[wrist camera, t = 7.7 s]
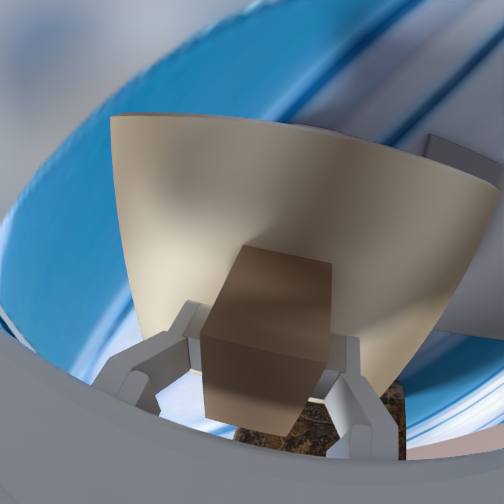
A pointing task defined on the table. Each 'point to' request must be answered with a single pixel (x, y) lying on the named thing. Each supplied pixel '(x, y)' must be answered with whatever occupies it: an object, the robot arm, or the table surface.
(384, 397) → the book
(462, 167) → the mat
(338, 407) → the robot arm
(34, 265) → the table surface
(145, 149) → the board
